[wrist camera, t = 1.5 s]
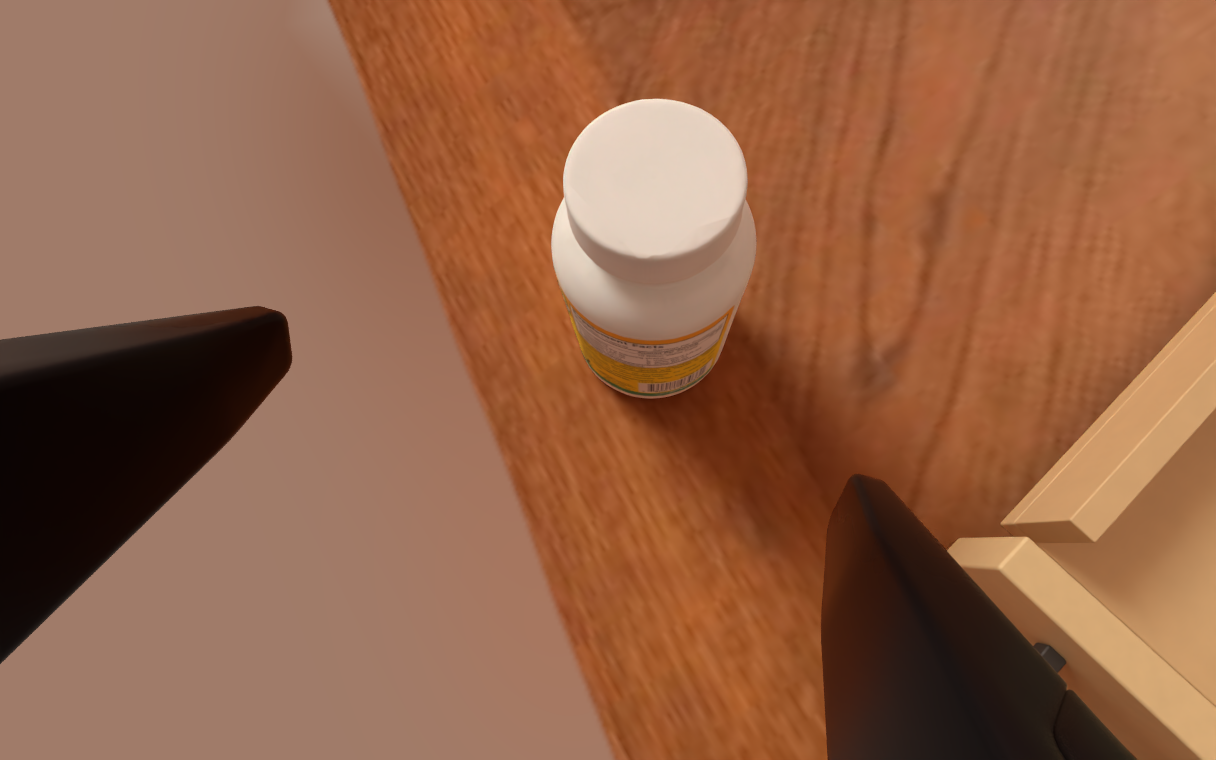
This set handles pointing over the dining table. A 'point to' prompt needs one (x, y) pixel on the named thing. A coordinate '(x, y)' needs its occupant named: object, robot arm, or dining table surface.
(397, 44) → the dining table surface
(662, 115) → the supplement bottle
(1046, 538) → the drawer
